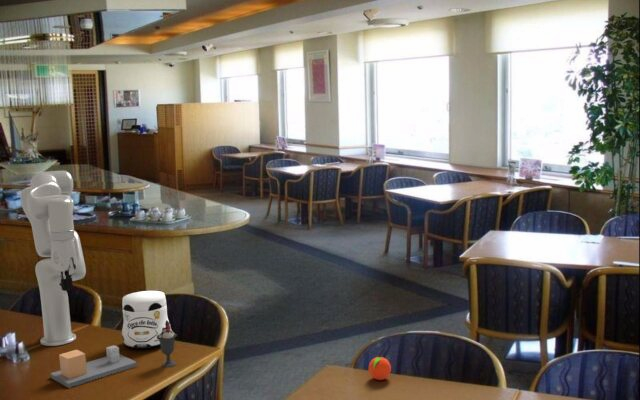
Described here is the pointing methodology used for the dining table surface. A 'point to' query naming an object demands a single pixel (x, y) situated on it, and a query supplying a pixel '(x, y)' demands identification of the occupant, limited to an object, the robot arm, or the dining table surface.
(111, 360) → the post far
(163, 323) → the milk container
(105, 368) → the slate board
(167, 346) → the sundae
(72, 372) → the peach wooden block
